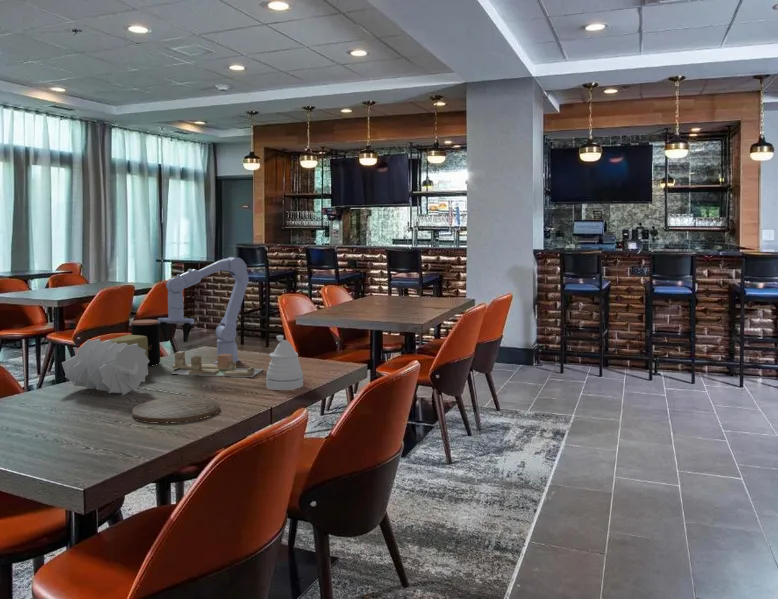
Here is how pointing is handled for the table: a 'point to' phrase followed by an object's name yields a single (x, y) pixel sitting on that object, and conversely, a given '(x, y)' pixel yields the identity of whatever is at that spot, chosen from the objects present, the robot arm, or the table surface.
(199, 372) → the broken strip
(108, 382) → the white spiky cylinder
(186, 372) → the mat
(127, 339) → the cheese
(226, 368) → the beige wooden beam
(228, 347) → the robot arm
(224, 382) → the table surface
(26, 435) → the table surface
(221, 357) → the cube
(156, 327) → the coffee jar
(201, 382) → the table surface
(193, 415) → the trivet
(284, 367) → the honey pot
